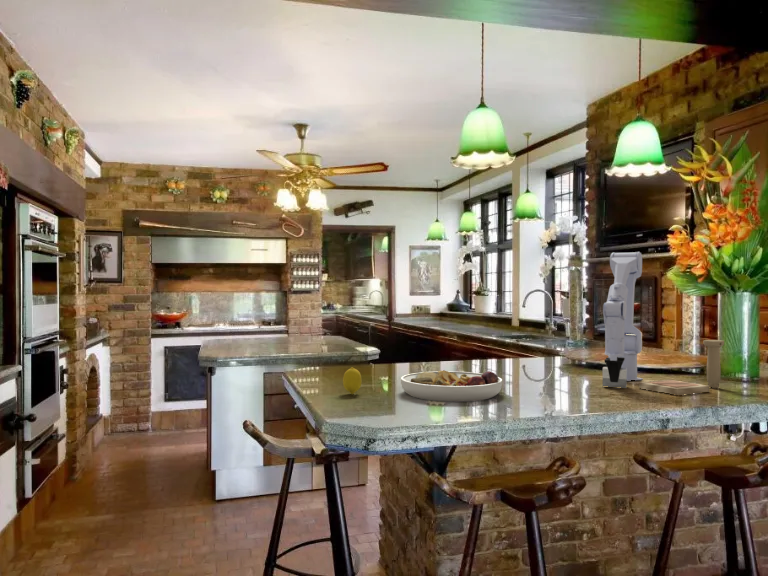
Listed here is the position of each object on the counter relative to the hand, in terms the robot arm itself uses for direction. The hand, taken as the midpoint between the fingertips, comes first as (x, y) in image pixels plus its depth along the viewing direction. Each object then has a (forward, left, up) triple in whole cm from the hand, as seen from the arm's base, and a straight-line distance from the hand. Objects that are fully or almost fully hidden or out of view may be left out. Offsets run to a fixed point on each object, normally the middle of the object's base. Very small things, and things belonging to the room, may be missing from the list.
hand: (614, 381), depth 195 cm
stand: (+13, +11, -2) cm, 17 cm away
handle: (+15, +27, -2) cm, 31 cm away
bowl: (-12, -54, -2) cm, 55 cm away
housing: (0, 0, -2) cm, 2 cm away
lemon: (-24, -81, -2) cm, 84 cm away
